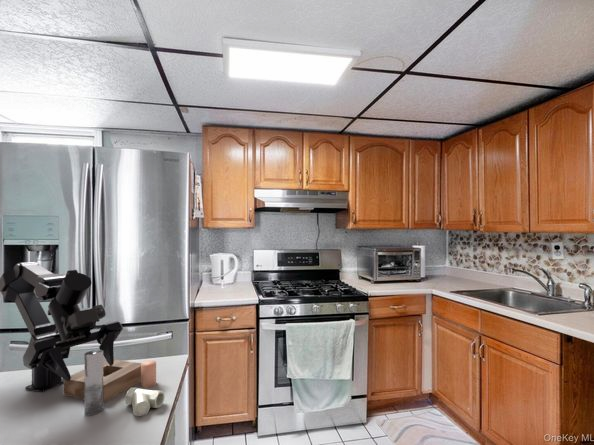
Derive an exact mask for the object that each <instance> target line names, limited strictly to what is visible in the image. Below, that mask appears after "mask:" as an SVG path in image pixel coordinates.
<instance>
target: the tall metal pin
mask: <svg viewBox="0 0 594 445" xmlns="http://www.w3.org/2000/svg"><path fill="white" fill-rule="evenodd" d="M103 361H104V355H103V350H100V349H93V350H90V351H87V352H85V353H84V369H85V399H84V415H85V416H94V415H98V414H100V413H101V412H103V411H104V402H103Z"/></svg>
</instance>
